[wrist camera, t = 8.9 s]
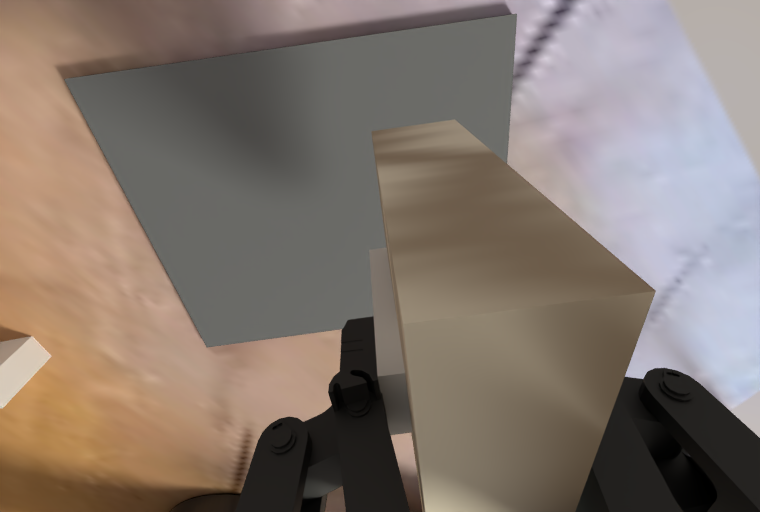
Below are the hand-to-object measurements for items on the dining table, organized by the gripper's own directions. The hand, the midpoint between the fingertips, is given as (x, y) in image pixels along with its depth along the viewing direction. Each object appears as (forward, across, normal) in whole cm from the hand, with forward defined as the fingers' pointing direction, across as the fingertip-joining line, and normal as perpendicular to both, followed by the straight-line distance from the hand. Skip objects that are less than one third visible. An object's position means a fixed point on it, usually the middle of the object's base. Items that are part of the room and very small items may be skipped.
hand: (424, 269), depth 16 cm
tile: (0, 0, 0) cm, 0 cm away
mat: (+10, +5, +1) cm, 11 cm away
